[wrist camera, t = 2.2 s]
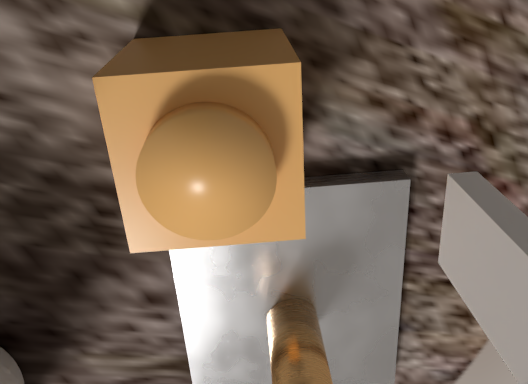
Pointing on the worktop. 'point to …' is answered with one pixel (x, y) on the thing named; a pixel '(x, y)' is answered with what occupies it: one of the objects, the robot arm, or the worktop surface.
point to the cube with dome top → (205, 139)
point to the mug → (9, 369)
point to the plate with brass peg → (303, 292)
